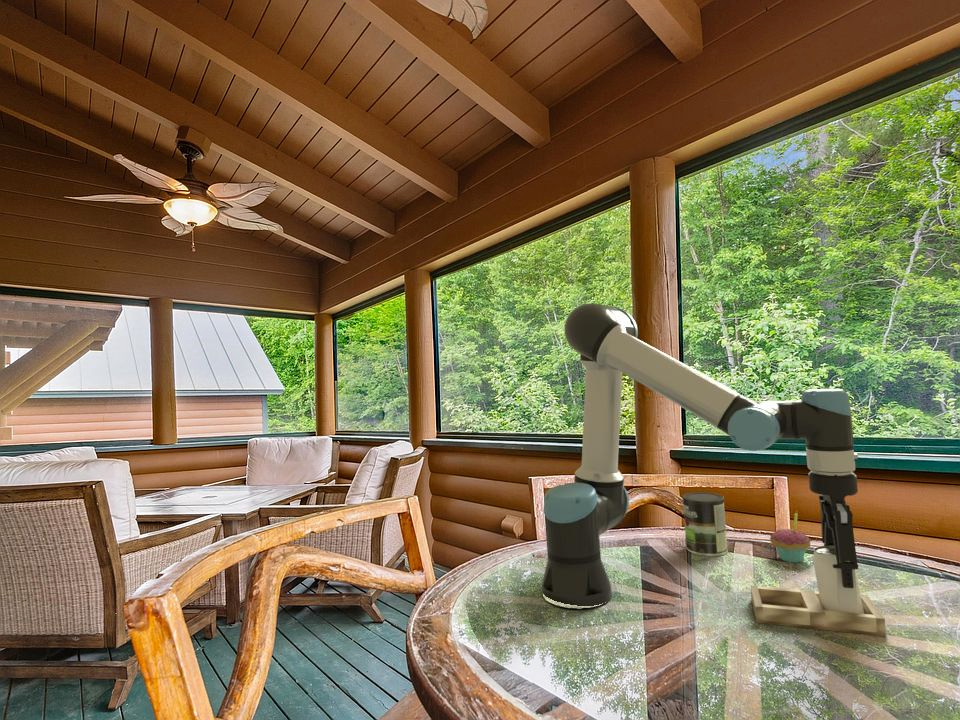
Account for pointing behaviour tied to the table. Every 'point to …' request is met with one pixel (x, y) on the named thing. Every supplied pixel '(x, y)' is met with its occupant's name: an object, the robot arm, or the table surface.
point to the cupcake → (791, 543)
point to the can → (831, 581)
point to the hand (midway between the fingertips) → (842, 594)
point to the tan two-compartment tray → (812, 612)
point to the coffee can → (705, 523)
